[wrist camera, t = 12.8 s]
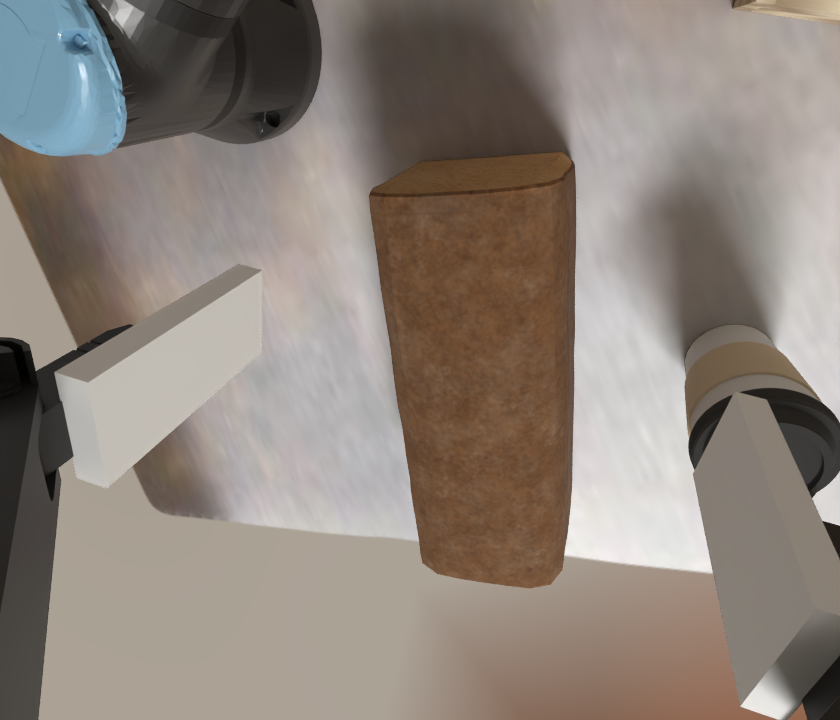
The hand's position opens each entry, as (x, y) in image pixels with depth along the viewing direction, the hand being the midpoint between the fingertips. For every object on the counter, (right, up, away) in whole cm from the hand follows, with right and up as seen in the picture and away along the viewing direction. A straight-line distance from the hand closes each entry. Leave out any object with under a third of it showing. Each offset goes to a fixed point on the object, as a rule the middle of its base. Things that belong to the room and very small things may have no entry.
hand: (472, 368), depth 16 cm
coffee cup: (+25, 0, +33) cm, 41 cm away
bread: (+6, +2, +39) cm, 39 cm away
